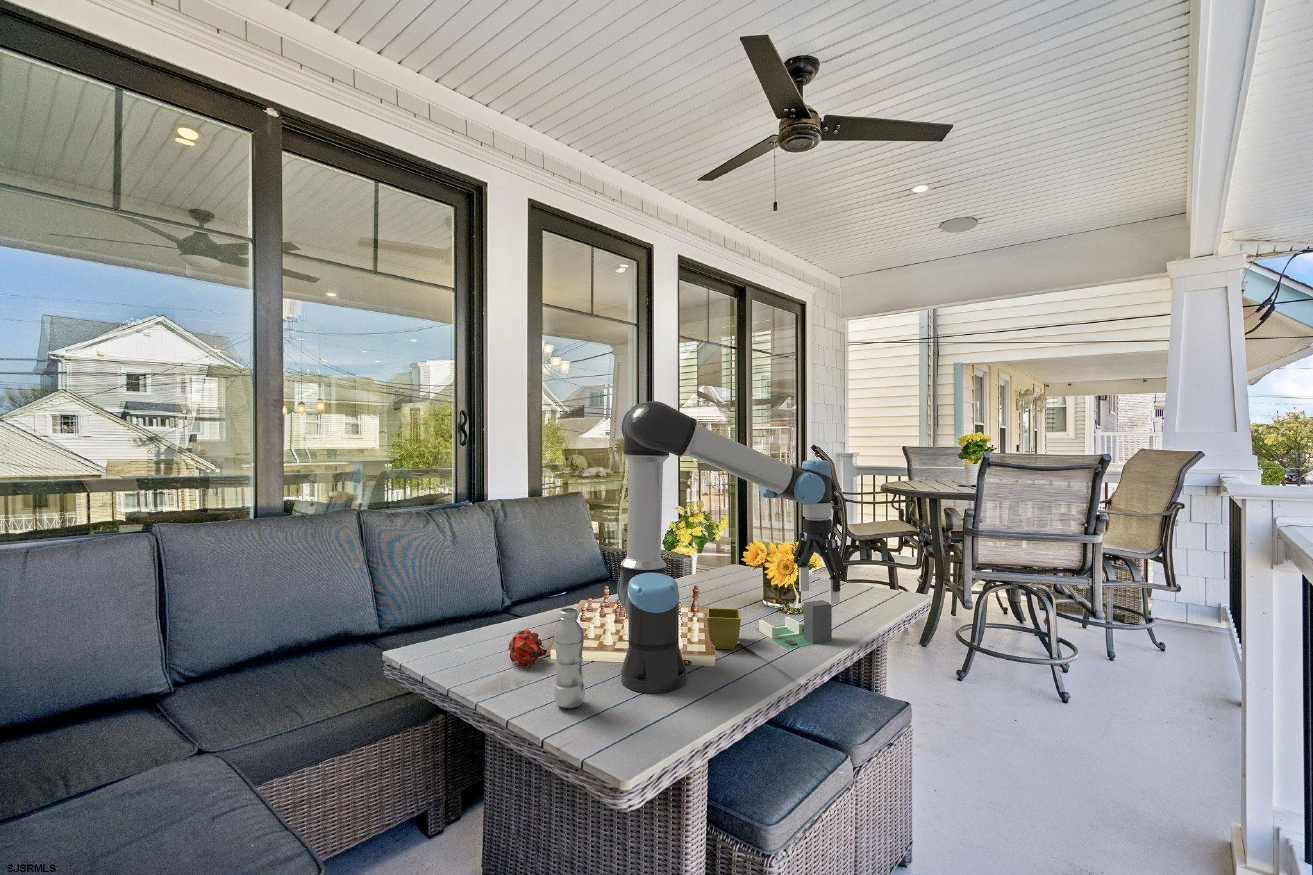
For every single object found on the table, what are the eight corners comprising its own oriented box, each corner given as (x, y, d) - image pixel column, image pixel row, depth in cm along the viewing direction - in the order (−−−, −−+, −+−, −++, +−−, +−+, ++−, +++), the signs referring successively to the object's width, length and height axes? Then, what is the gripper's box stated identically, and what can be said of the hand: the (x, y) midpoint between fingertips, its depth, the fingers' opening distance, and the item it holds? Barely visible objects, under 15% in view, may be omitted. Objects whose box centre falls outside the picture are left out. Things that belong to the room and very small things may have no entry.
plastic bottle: (558, 714, 123) (558, 616, 123) (550, 701, 130) (550, 607, 129) (589, 708, 126) (588, 612, 126) (579, 696, 132) (579, 604, 132)
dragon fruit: (519, 660, 158) (537, 682, 148) (494, 647, 153) (510, 669, 143) (539, 631, 159) (557, 651, 149) (515, 617, 155) (532, 637, 145)
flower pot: (739, 641, 166) (739, 608, 166) (741, 652, 158) (741, 618, 158) (707, 640, 167) (707, 607, 167) (707, 651, 158) (707, 617, 158)
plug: (812, 644, 160) (812, 606, 160) (803, 639, 164) (803, 602, 164) (833, 640, 163) (833, 603, 162) (824, 636, 166) (824, 599, 166)
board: (787, 653, 157) (787, 636, 157) (754, 632, 173) (754, 618, 173) (836, 645, 162) (836, 630, 162) (799, 626, 178) (799, 612, 178)
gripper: (859, 523, 153) (861, 607, 153) (802, 511, 176) (804, 584, 176) (834, 525, 150) (836, 611, 150) (780, 513, 173) (781, 587, 174)
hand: (818, 597), depth 163 cm, fingers open, 13 cm apart
